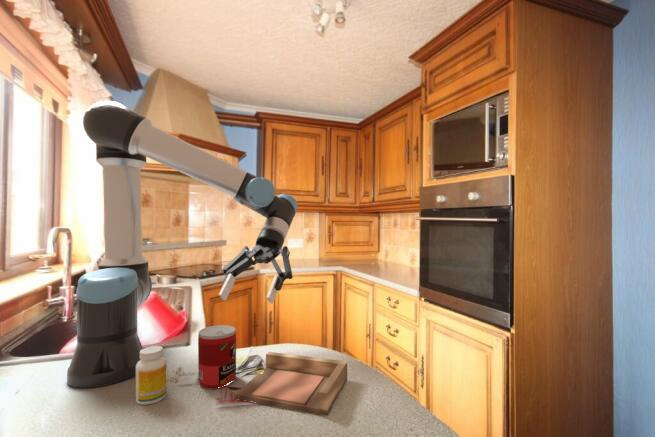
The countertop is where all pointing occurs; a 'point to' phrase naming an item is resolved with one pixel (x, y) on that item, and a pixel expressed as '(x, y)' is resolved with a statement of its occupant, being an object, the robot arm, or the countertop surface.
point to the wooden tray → (297, 383)
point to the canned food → (216, 356)
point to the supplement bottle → (150, 376)
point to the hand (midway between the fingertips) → (245, 299)
